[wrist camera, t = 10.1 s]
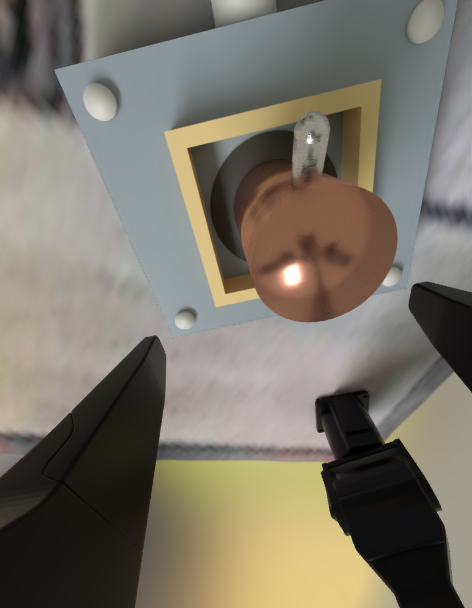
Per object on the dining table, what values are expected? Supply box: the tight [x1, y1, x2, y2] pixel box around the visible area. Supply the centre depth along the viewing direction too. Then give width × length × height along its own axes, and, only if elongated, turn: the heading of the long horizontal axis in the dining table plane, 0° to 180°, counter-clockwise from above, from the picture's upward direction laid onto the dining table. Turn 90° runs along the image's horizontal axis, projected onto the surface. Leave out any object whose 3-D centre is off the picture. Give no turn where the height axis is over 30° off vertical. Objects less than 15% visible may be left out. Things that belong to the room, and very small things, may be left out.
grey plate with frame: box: [55, 0, 458, 338], centre depth 16 cm, size 19×18×6 cm
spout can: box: [233, 111, 398, 322], centre depth 12 cm, size 7×5×8 cm
